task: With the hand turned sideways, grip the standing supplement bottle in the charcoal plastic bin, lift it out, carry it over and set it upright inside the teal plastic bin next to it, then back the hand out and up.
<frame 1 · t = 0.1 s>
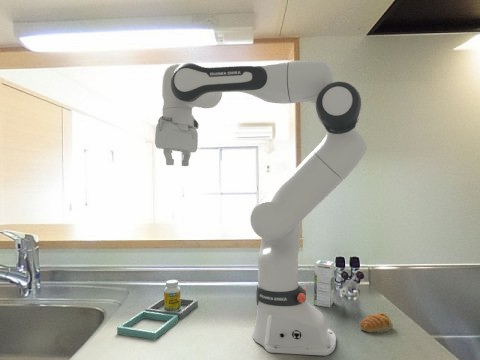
hand: (177, 165, 105), 48 cm above the counter, tool pointing down, fingers open, 8 cm apart
syrup box: (324, 304, 120), on the counter
supplement bottle: (172, 310, 116), resting in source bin
pastry: (376, 329, 101), on the counter
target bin: (148, 327, 102), on the counter
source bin: (172, 309, 116), on the counter
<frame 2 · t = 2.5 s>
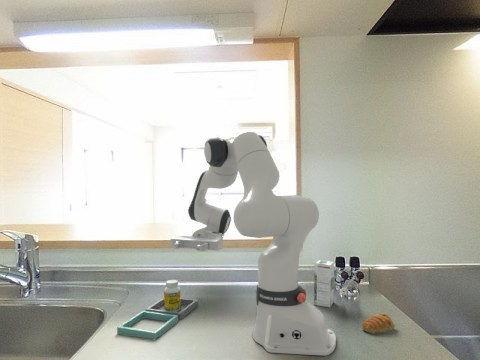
hand: (187, 247, 127), 19 cm above the counter, tool horizontal, fingers open, 8 cm apart
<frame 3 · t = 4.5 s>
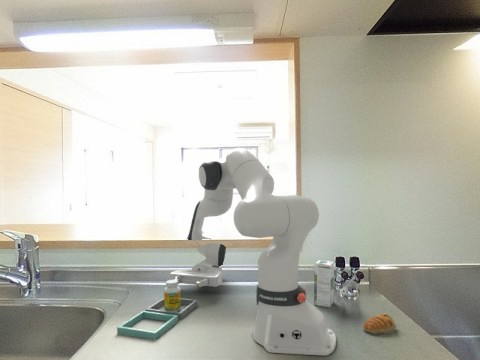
hand: (186, 283, 125), 6 cm above the counter, tool horizontal, fingers open, 8 cm apart
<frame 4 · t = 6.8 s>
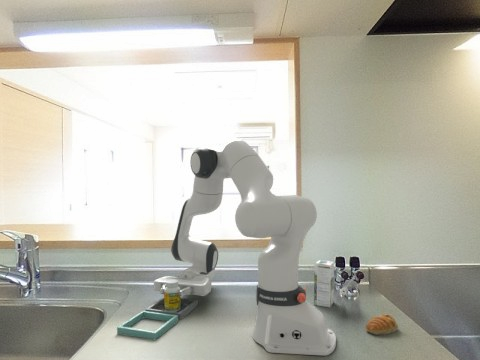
hand: (170, 292, 115), 6 cm above the counter, tool horizontal, fingers closed on supplement bottle, 5 cm apart
supplement bottle: (172, 310, 116), resting in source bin, touching gripper
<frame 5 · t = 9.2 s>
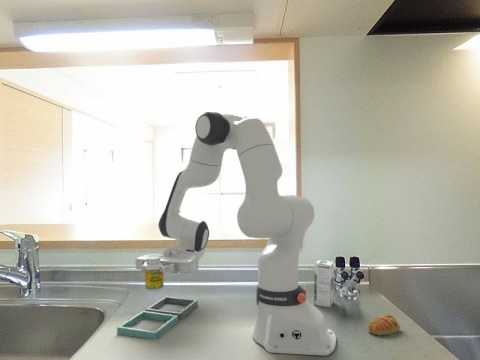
hand: (152, 269, 104), 17 cm above the counter, tool horizontal, fingers closed on supplement bottle, 5 cm apart
supplement bottle: (154, 289, 105), point 10 cm above the counter, touching gripper
when the fingers open (7 cm above the counter, at t = 11.7 s): supplement bottle drops 1 cm, resting in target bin.
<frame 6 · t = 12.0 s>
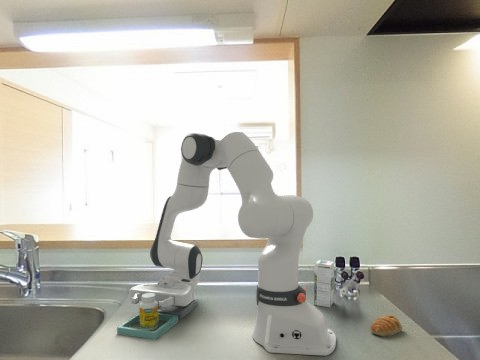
hand: (146, 303, 101), 7 cm above the counter, tool horizontal, fingers open, 8 cm apart
supplement bottle: (149, 327, 102), resting in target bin
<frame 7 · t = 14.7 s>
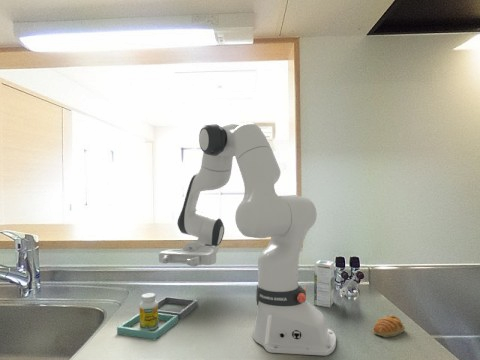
hand: (176, 261, 114), 16 cm above the counter, tool horizontal, fingers open, 8 cm apart
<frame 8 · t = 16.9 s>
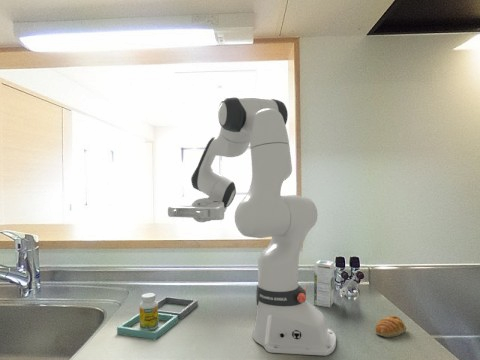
hand: (185, 214, 117), 32 cm above the counter, tool horizontal, fingers open, 8 cm apart
at the end: supplement bottle 0.1 cm off-centre on the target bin, point 0.0 cm above the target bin's base; supplement bottle tilted 0°; the gripper is holding nothing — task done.
